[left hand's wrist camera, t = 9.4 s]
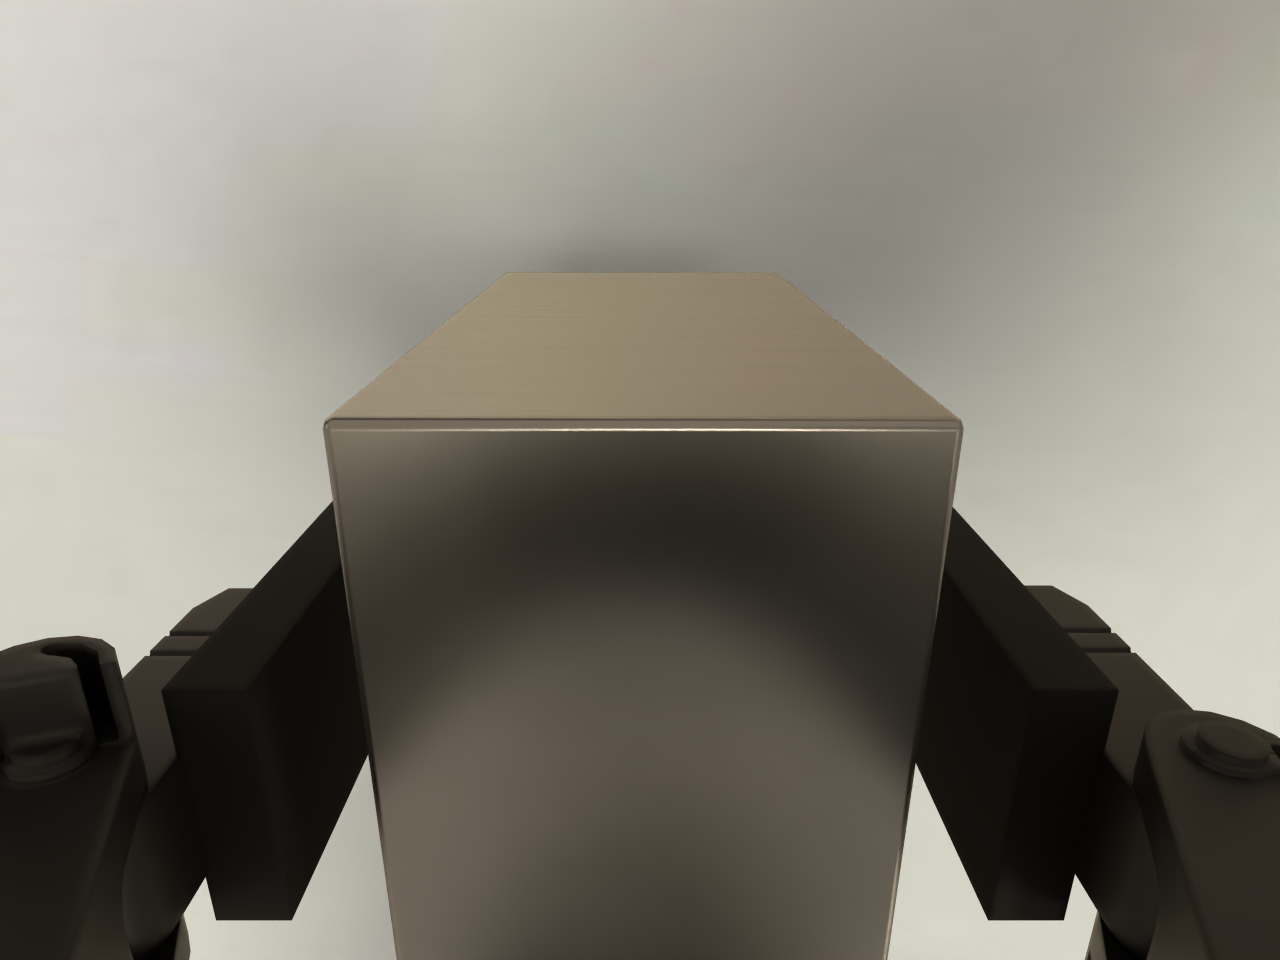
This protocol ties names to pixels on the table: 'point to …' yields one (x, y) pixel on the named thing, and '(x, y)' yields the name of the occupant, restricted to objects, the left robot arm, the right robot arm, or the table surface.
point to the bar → (642, 620)
